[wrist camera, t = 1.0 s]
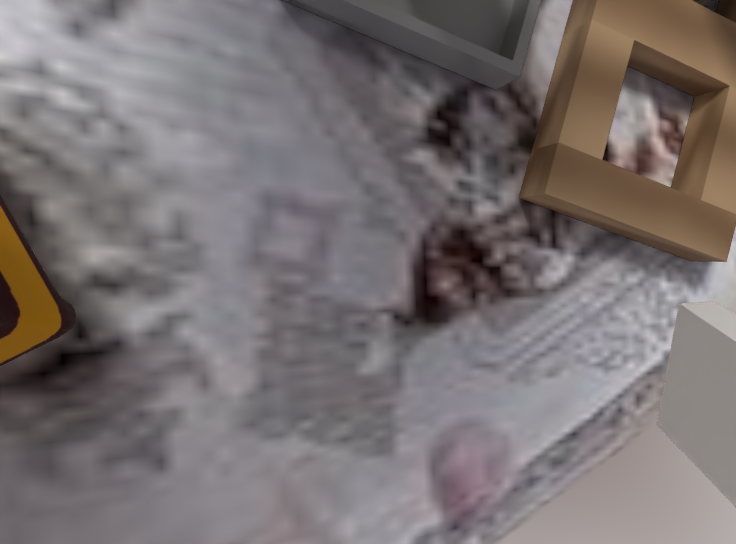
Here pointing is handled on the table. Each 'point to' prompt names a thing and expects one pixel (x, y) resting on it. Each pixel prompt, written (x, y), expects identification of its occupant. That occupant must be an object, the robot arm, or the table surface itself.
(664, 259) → the table surface
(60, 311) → the decorative lantern
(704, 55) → the wooden holder frame
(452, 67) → the grey square tray
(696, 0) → the cylinder
